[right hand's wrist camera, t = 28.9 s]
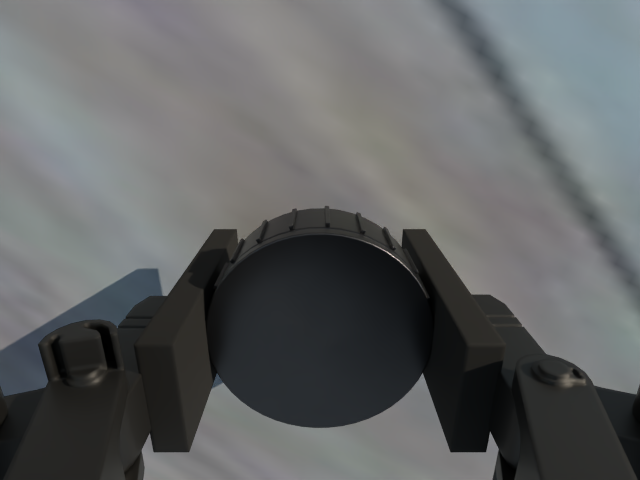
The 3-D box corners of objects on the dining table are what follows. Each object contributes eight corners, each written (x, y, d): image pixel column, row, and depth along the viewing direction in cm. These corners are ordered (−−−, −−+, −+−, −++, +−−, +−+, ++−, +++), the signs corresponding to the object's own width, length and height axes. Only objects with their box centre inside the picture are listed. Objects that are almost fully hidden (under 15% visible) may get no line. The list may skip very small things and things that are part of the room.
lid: (419, 374, 13) (436, 423, 11) (236, 387, 13) (223, 437, 11) (419, 196, 11) (439, 220, 9) (203, 214, 11) (180, 241, 9)
